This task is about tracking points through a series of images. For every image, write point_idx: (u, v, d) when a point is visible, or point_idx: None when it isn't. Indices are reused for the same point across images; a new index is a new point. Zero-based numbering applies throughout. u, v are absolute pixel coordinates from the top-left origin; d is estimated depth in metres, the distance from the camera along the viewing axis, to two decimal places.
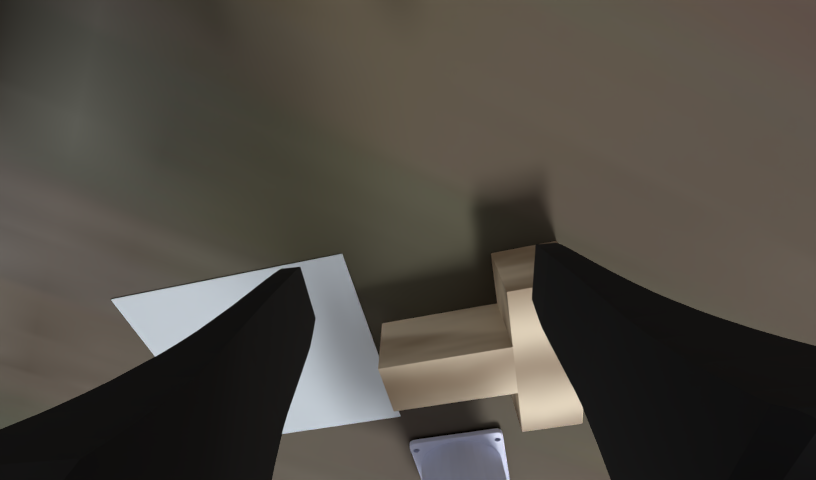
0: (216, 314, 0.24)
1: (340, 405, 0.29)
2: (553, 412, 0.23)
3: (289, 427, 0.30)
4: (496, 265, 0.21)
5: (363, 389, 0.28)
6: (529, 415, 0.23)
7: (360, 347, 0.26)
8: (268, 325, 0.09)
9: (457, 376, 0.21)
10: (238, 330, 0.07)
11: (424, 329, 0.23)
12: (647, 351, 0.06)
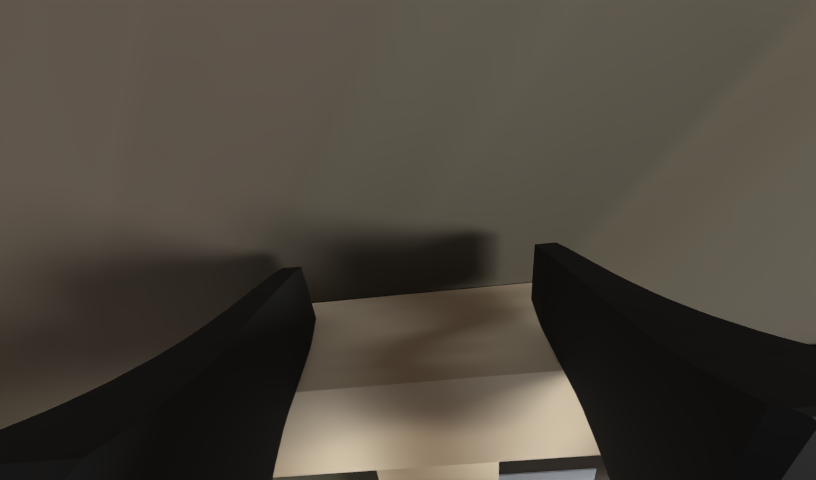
0: None
1: None
2: (583, 413, 0.10)
3: None
4: None
5: None
6: (575, 446, 0.11)
7: None
8: (269, 325, 0.08)
9: None
10: (239, 330, 0.07)
11: None
12: (646, 351, 0.06)
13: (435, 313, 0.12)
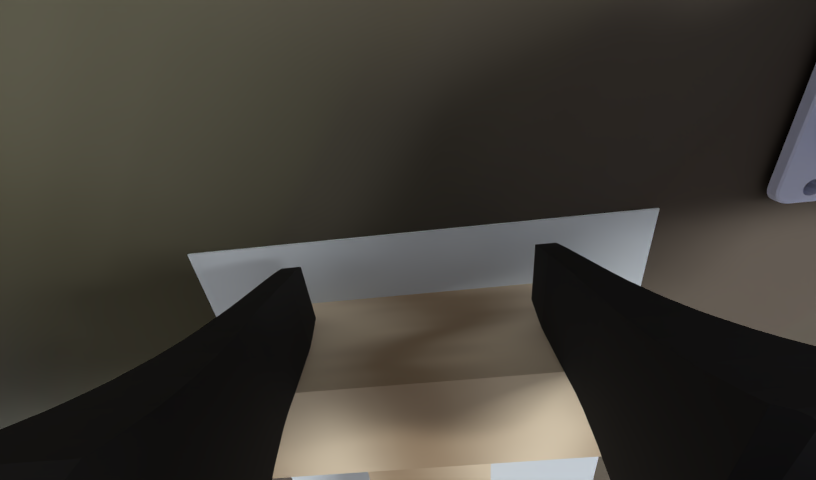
0: None
1: None
2: (575, 415, 0.10)
3: None
4: None
5: None
6: (567, 448, 0.11)
7: (412, 259, 0.12)
8: (268, 325, 0.09)
9: None
10: (239, 330, 0.07)
11: None
12: (647, 351, 0.06)
13: (427, 314, 0.12)
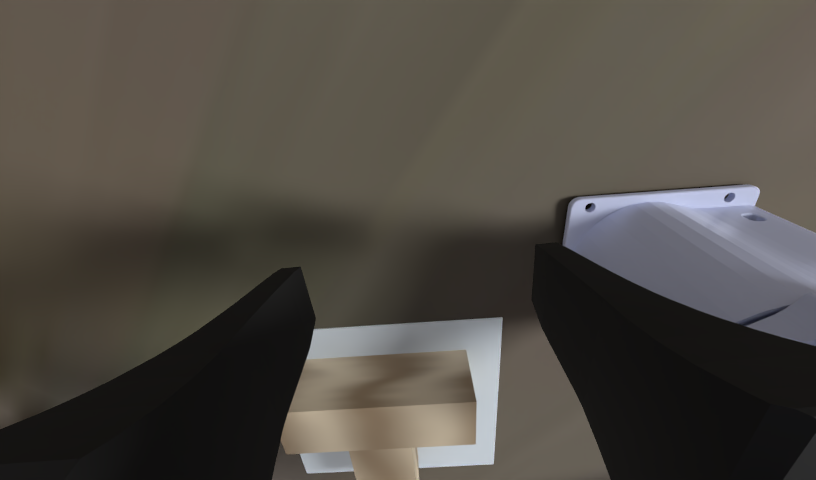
0: None
1: None
2: (450, 424, 0.21)
3: (487, 414, 0.27)
4: None
5: (443, 345, 0.24)
6: (449, 440, 0.22)
7: (376, 338, 0.23)
8: (268, 325, 0.09)
9: None
10: (238, 330, 0.07)
11: None
12: (648, 350, 0.06)
13: (382, 369, 0.23)
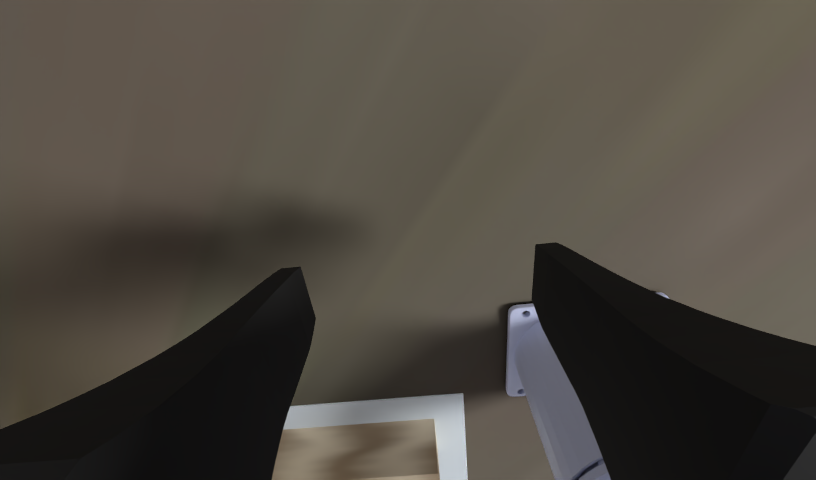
0: None
1: None
2: None
3: (458, 468, 0.30)
4: None
5: (413, 416, 0.27)
6: None
7: (354, 411, 0.27)
8: (268, 325, 0.08)
9: None
10: (238, 330, 0.07)
11: None
12: (648, 351, 0.06)
13: (360, 439, 0.26)
